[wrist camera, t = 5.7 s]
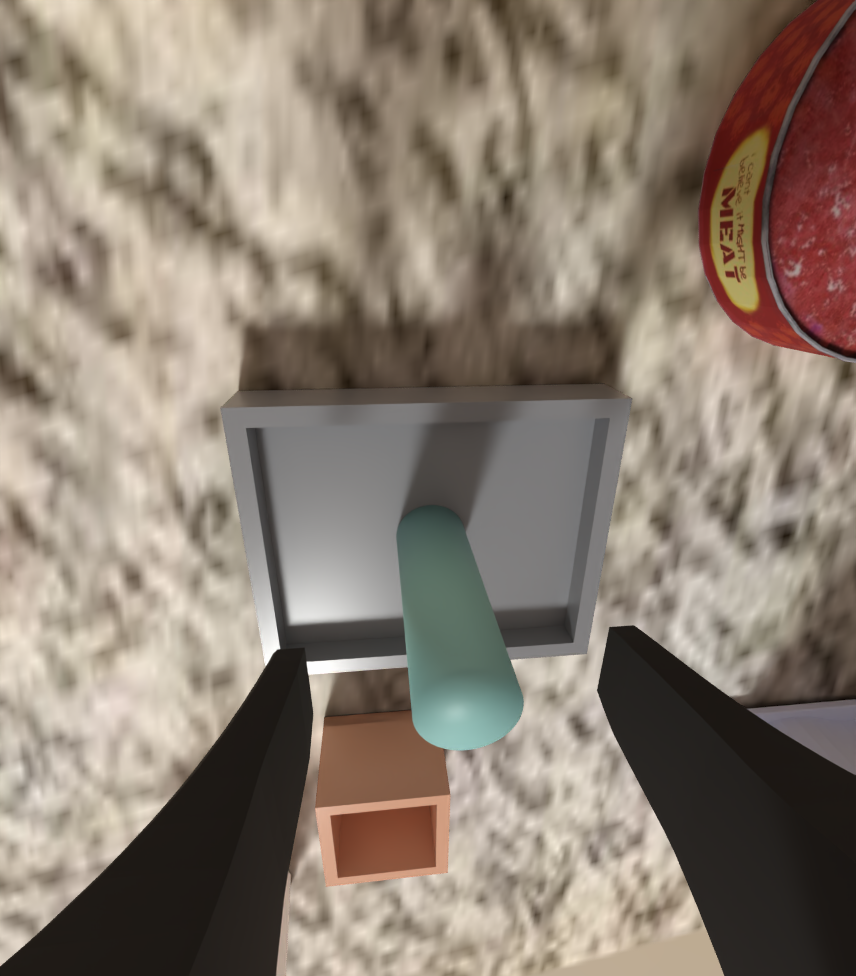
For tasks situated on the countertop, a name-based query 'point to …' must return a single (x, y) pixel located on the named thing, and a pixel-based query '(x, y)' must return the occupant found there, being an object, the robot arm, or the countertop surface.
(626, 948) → the countertop surface
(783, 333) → the canned food
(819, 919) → the robot arm
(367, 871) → the open box
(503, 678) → the pin
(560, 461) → the tray
